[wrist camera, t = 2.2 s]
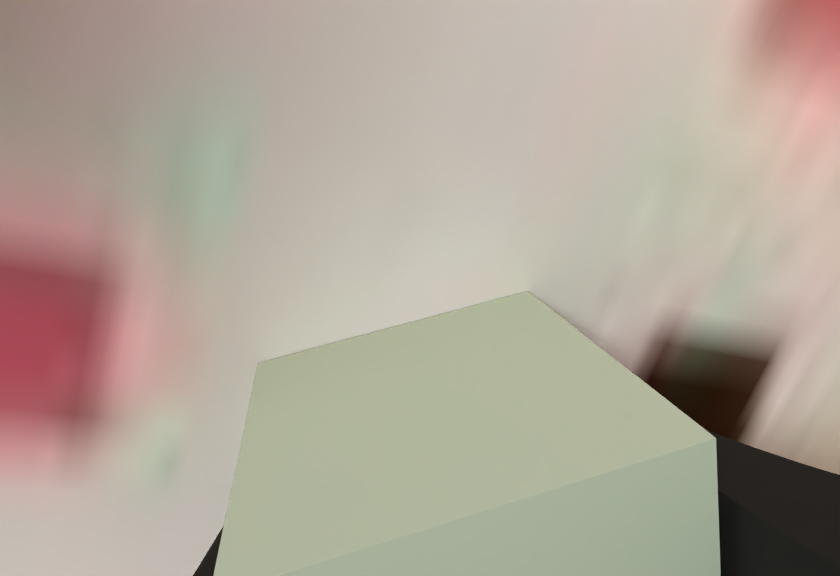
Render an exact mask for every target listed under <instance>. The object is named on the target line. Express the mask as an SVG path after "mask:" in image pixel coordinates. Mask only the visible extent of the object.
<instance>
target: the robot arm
mask: <svg viewBox="0 0 840 576" xmlns="http://www.w3.org/2000/svg"><path fill="white" fill-rule="evenodd" d="M706 431H708V430H706ZM708 432H709V433H710V434H711V435H713V436H714V437H715V438H716V450H717V480H718V510H719V539H720V569H721V576H840V475H838V474H834V473H830V472H827V471H824V470H821V469H817V468H814V467H811V466H807V465H804V464H801V463H798V462H795V461H792V460H789V459H786V458H783V457H780V456H777V455H774V454H771V453H768V452H765V451H762V450H759V449H756V448H753V447H751V446H748V445H745V444H743V443H740V442H737V441H734V440H732V439H729V438H726V437H724V436H721V435H718V434H716V433H713V432H710V431H708ZM223 527H224V526H223ZM222 532H223V528H222V529H221V531H220V532H219V534H218V536H217V537H216V539H215V541H214V542H213V544H212V546H211V547H210V549H209V551H208V552H207V554H206V556H205V557H204V559H203V560H202V562H201V564H200V565H199V567H198V569H197V570H196V572H195V573H194V575H193V576H213V575H214V570H215V565H216V560H217V556H218V551H219V546H220V541H221V536H222Z"/></svg>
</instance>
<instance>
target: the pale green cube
mask: <svg viewBox="0 0 840 576" xmlns="http://www.w3.org/2000/svg"><path fill="white" fill-rule="evenodd" d="M213 576H721V569H720V539H719V510H718V480H717V450H716V438H715V437H714V436H713V435H711V434H710V433H709V432H708V431H706V430H705V429H704V428H702V427H701V426H700V425H699V424H697V423H696V422H695V421H694V420H692V419H691V418H690V417H688V416H687V415H686V414H685V413H683V412H682V411H681V410H679V409H678V408H677V407H676V406H674V405H673V404H672V403H671V402H669V401H668V400H667V399H665V398H664V397H663V396H662V395H660V394H659V393H658V392H656V391H655V390H654V389H653V388H651V387H650V386H649V385H648V384H646V383H645V382H644V381H642V380H641V379H640V378H639V377H637V376H636V375H635V374H633V373H632V372H631V371H630V370H628V369H627V368H626V367H625V366H623V365H622V364H621V363H619V362H618V361H617V360H616V359H614V358H613V357H612V356H610V355H609V354H608V353H607V352H605V351H604V350H603V349H602V348H600V347H599V346H598V345H596V344H595V343H594V342H593V341H591V340H590V339H589V338H587V337H586V336H585V335H584V334H582V333H581V332H580V331H579V330H577V329H576V328H575V327H573V326H572V325H571V324H570V323H568V322H567V321H566V320H564V319H563V318H562V317H561V316H559V315H558V314H557V313H556V312H554V311H553V310H552V309H550V308H549V307H548V306H547V305H545V304H544V303H543V302H542V301H540V300H539V299H538V298H536V297H535V296H534V295H533V294H531V293H530V292H529V291H526V292H523V293H519V294H515V295H511V296H508V297H504V298H500V299H496V300H493V301H489V302H485V303H481V304H478V305H474V306H470V307H466V308H463V309H459V310H455V311H451V312H448V313H444V314H440V315H436V316H433V317H429V318H425V319H422V320H418V321H414V322H410V323H407V324H403V325H399V326H395V327H392V328H388V329H384V330H380V331H377V332H373V333H369V334H365V335H362V336H358V337H354V338H350V339H347V340H343V341H339V342H335V343H332V344H328V345H324V346H320V347H317V348H313V349H309V350H305V351H302V352H298V353H294V354H290V355H287V356H283V357H279V358H275V359H272V360H268V361H264V362H260V363H258V364H257V368H256V373H255V378H254V383H253V388H252V392H251V397H250V402H249V407H248V412H247V416H246V421H245V426H244V431H243V436H242V440H241V445H240V450H239V455H238V460H237V464H236V469H235V474H234V479H233V484H232V488H231V493H230V498H229V503H228V508H227V512H226V517H225V522H224V527H223V532H222V536H221V541H220V546H219V551H218V556H217V560H216V565H215V570H214V575H213Z"/></svg>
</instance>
